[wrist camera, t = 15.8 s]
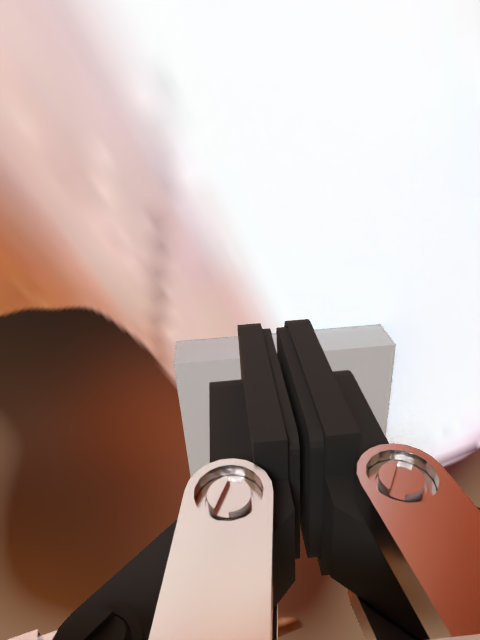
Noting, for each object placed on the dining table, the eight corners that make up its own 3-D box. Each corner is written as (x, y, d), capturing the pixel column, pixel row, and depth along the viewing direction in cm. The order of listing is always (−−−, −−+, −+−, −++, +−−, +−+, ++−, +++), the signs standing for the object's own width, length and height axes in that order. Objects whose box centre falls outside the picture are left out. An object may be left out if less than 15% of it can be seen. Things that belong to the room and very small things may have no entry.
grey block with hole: (380, 324, 44) (395, 344, 40) (370, 434, 50) (382, 460, 47) (176, 341, 43) (173, 363, 40) (192, 451, 50) (191, 478, 46)
